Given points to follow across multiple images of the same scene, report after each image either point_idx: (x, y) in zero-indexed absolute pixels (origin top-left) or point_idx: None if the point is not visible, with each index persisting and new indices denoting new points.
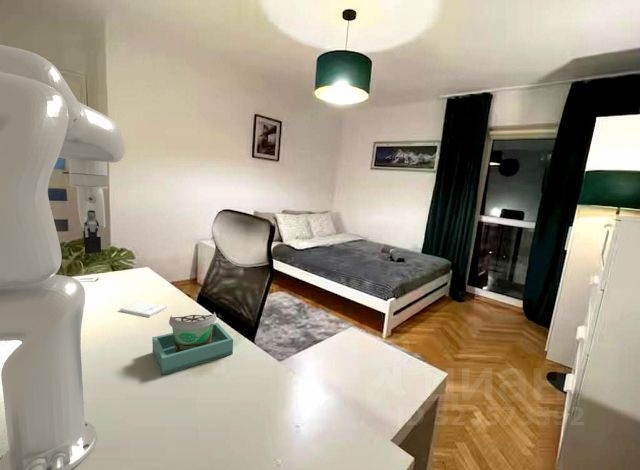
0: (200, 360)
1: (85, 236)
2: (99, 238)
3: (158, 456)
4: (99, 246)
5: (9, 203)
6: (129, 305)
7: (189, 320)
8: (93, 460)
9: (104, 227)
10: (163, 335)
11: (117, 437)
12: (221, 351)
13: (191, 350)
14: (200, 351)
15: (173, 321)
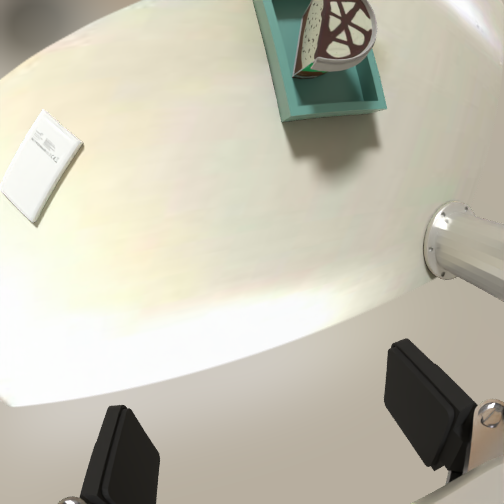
0: None
1: (152, 499)
2: (464, 400)
3: (483, 146)
4: (427, 365)
5: None
6: (19, 204)
7: (349, 29)
8: (470, 200)
9: (487, 463)
10: (289, 92)
11: (456, 180)
12: None
13: (373, 56)
14: None
15: (351, 61)
